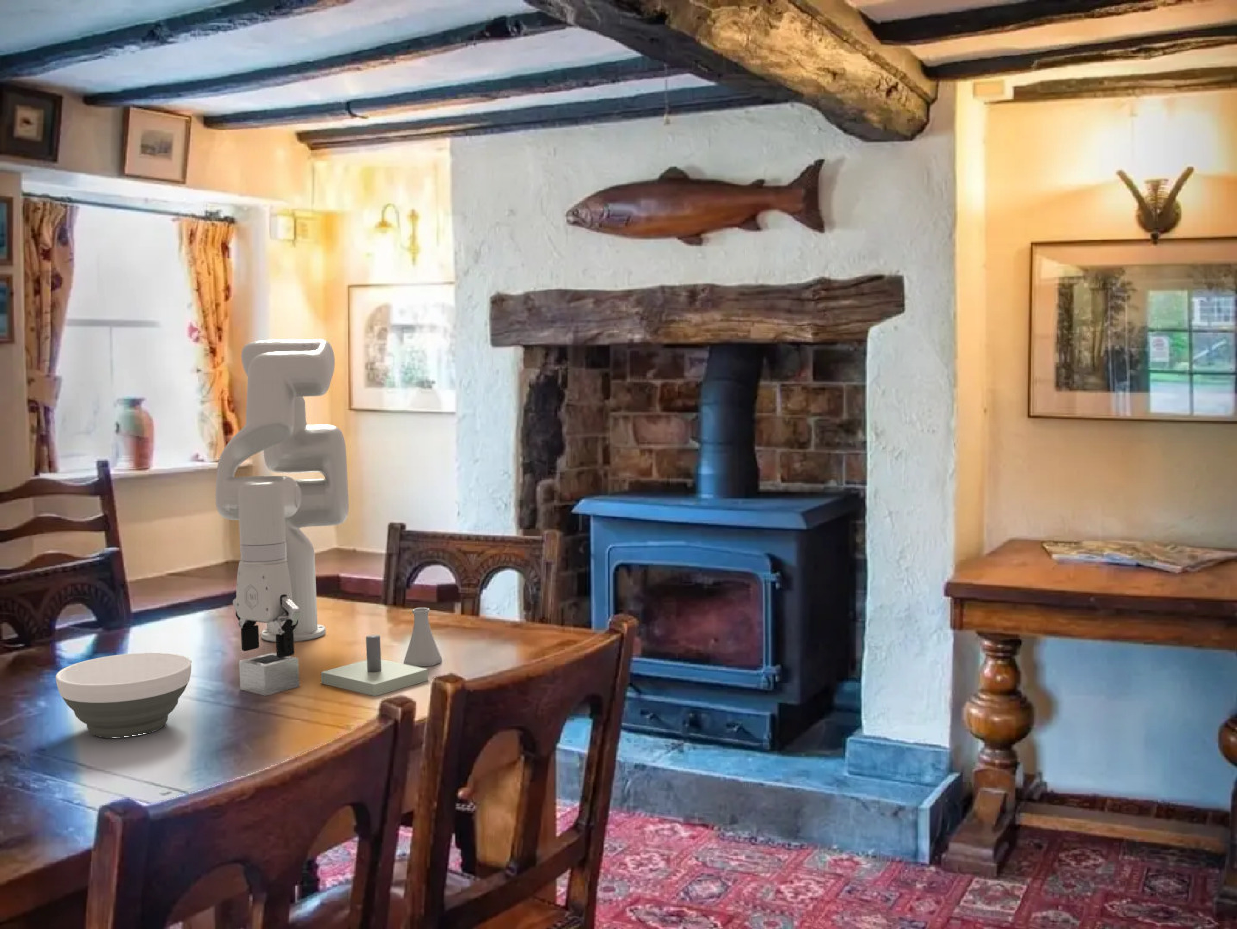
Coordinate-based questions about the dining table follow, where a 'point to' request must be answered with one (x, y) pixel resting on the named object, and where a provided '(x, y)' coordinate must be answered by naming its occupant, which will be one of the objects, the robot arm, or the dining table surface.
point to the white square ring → (269, 674)
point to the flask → (422, 642)
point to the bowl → (124, 691)
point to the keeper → (374, 673)
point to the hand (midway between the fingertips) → (267, 652)
